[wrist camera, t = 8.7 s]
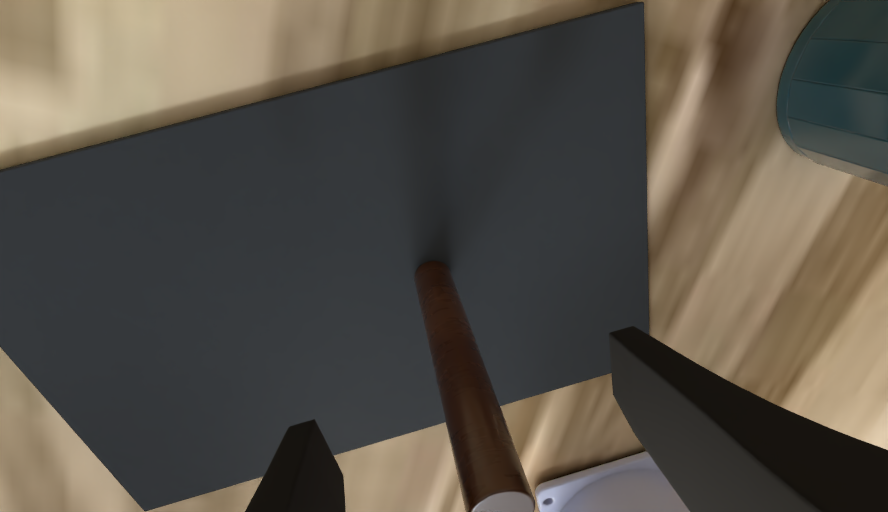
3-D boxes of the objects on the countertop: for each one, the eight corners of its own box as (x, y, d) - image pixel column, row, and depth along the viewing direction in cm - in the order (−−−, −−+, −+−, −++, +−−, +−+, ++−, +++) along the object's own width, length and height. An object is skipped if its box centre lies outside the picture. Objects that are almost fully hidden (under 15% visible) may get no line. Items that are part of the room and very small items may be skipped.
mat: (645, 355, 21) (650, 361, 20) (148, 503, 20) (144, 511, 20) (637, 1, 14) (644, 1, 14) (-114, 199, 13) (-126, 204, 13)
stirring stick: (454, 286, 17) (540, 523, 9) (419, 296, 17) (475, 544, 9) (446, 255, 16) (531, 482, 9) (410, 266, 16) (461, 503, 8)
